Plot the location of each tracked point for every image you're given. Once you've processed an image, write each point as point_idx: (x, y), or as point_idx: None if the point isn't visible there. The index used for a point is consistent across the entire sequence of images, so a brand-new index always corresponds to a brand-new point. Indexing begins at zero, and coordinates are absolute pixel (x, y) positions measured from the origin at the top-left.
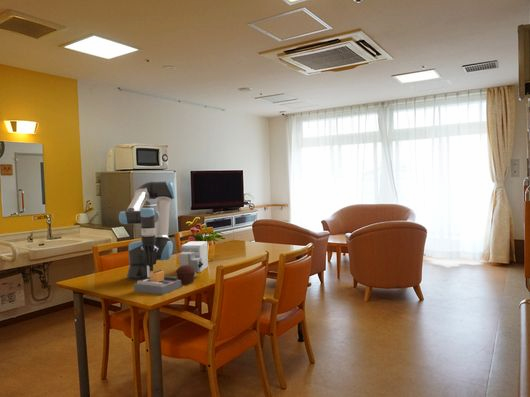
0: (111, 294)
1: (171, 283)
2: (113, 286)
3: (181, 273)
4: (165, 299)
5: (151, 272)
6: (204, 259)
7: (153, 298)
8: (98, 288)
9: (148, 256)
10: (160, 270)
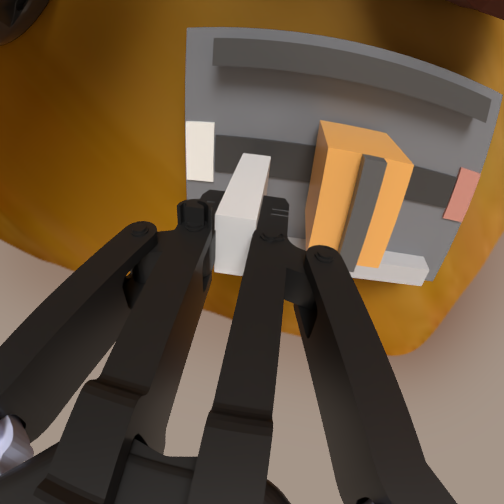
0: None
1: (468, 203)
2: (32, 174)
3: (500, 18)
4: (448, 306)
5: (265, 190)
6: None
7: (392, 306)
8: (19, 221)
9: (174, 352)
10: (381, 181)
